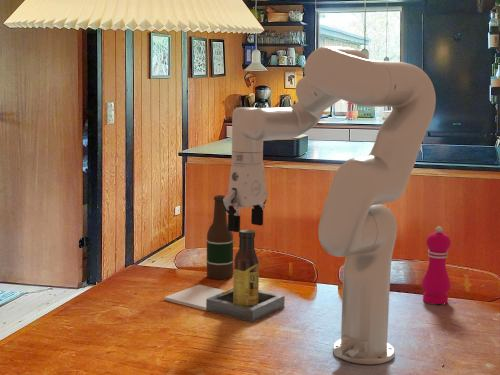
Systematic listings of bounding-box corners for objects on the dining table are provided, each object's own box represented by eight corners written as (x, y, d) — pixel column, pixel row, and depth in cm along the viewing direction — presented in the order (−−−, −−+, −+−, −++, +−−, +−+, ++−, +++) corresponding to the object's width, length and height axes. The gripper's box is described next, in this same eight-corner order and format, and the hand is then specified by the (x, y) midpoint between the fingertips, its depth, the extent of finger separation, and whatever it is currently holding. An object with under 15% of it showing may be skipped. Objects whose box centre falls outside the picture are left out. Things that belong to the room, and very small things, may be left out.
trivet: (206, 310, 162) (206, 307, 162) (164, 299, 170) (164, 296, 170) (239, 296, 173) (239, 293, 173) (198, 287, 181) (198, 284, 181)
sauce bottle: (253, 314, 160) (254, 234, 157) (229, 311, 162) (230, 232, 159) (261, 306, 166) (262, 229, 163) (238, 303, 168) (239, 227, 165)
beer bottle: (222, 271, 198) (222, 192, 194) (238, 277, 192) (239, 196, 188) (201, 275, 193) (201, 195, 189) (217, 281, 187) (217, 198, 183)
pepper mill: (415, 301, 171) (419, 226, 169) (430, 295, 176) (433, 222, 174) (440, 307, 166) (444, 230, 163) (454, 301, 171) (459, 226, 168)
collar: (252, 322, 154) (252, 308, 153) (206, 310, 162) (206, 297, 161) (284, 307, 165) (284, 294, 165) (239, 296, 173) (239, 284, 173)
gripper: (238, 163, 149) (237, 236, 152) (279, 157, 163) (277, 224, 166) (212, 160, 153) (211, 231, 156) (254, 154, 167) (253, 220, 170)
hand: (245, 227), depth 161 cm, fingers open, 9 cm apart
